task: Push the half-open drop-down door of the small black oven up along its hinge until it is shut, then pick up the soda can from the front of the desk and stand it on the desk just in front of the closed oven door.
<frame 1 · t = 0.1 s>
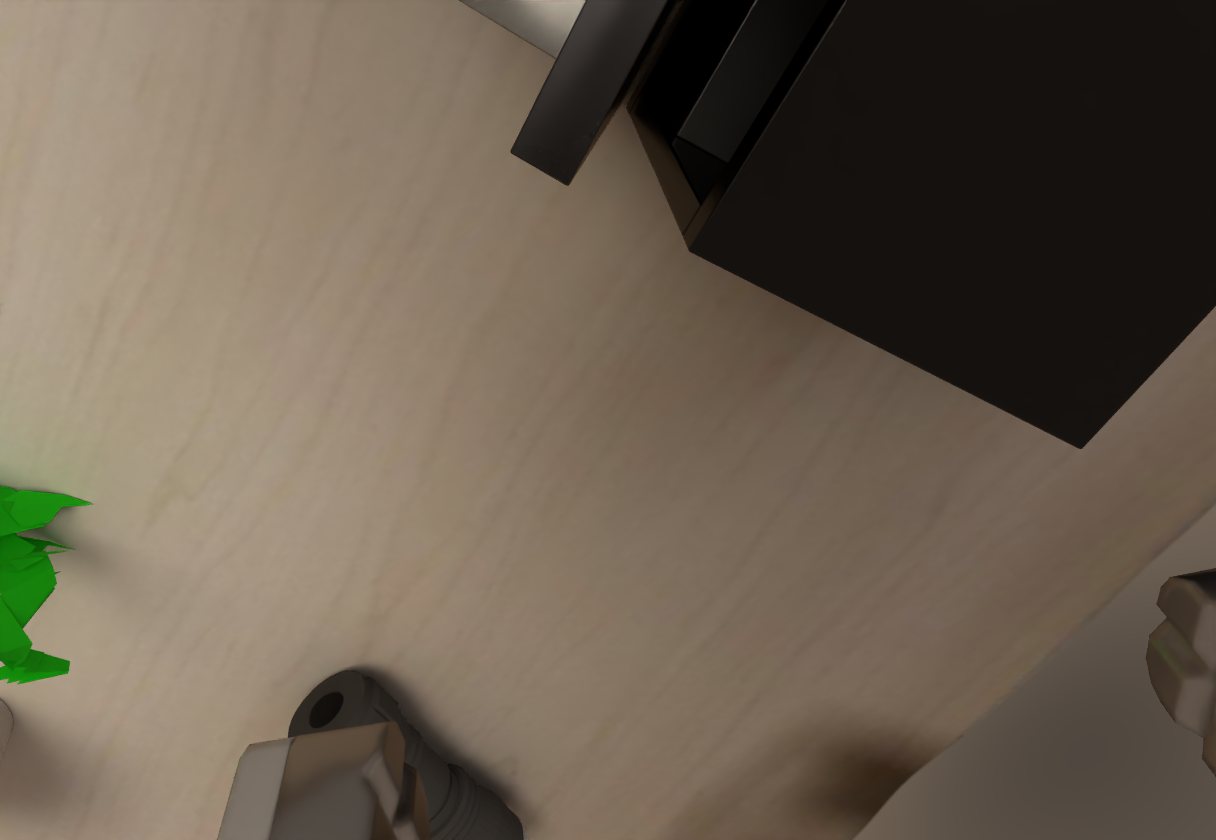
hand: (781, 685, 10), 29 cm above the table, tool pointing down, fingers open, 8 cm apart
figurine: (9, 499, 42), on the table
flashlight: (419, 746, 54), on the table
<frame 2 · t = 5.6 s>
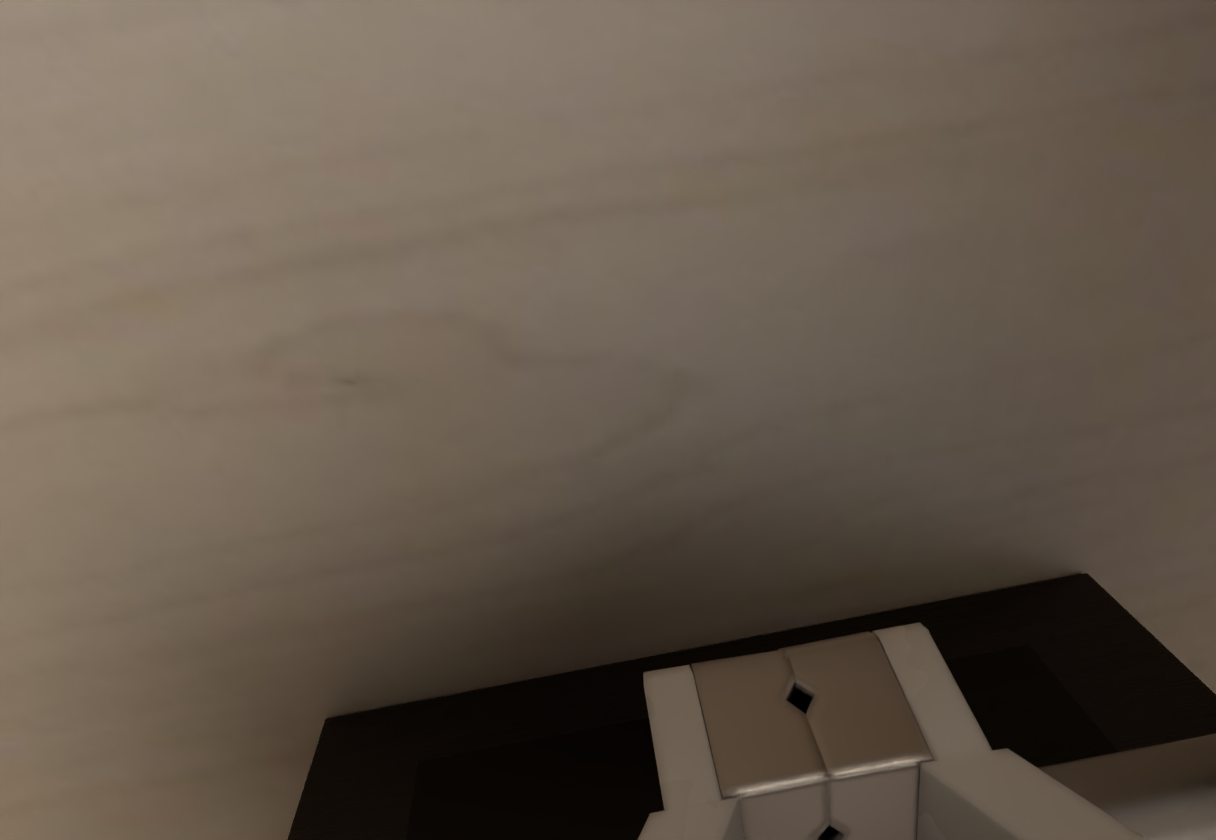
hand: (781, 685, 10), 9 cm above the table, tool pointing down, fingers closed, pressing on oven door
oven door: (762, 796, 15), point 6 cm above the table, hinge at 10.9°, touching gripper
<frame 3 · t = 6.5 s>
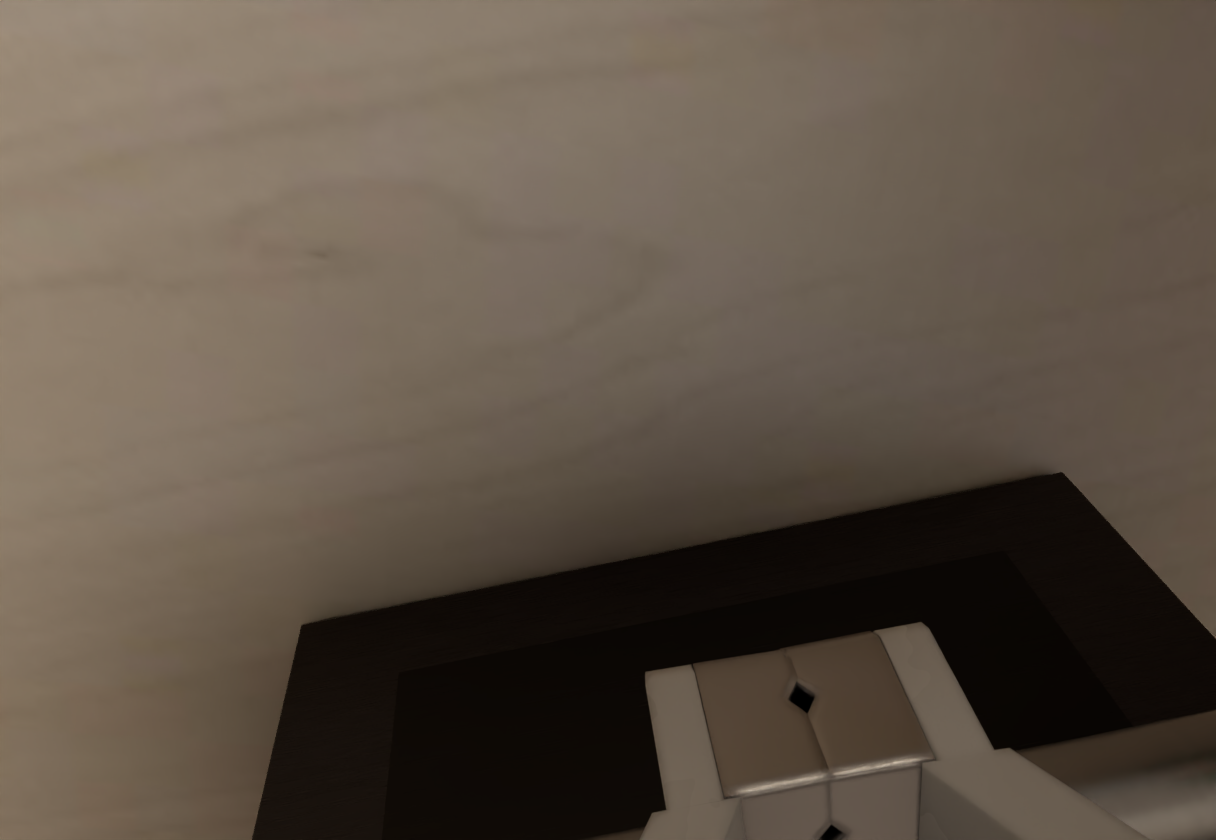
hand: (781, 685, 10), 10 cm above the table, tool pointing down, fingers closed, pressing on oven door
oven door: (746, 726, 15), point 7 cm above the table, hinge at -0.8°, touching gripper
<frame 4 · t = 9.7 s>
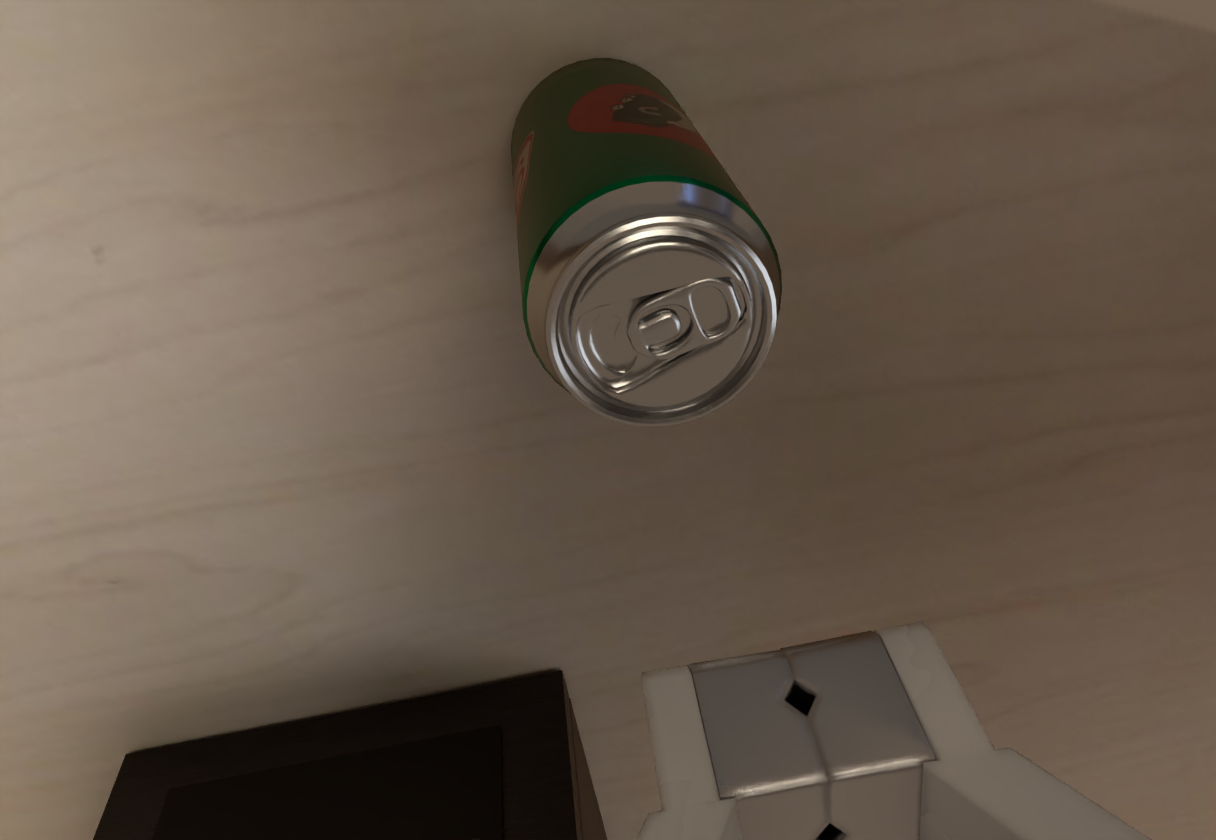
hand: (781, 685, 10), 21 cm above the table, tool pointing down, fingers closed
oven door: (300, 835, 31), point 7 cm above the table, hinge at -0.5°
soda can: (597, 143, 28), on the table
oven: (403, 837, 43), on the table
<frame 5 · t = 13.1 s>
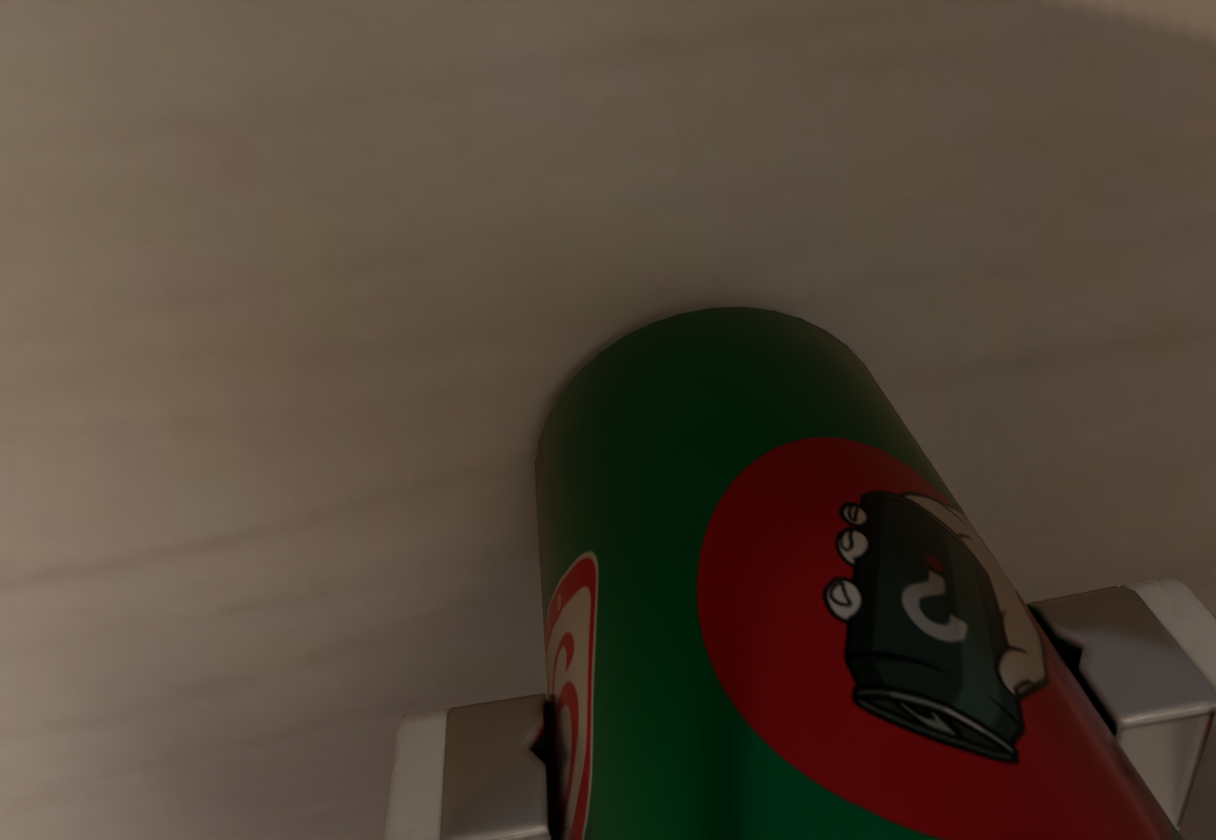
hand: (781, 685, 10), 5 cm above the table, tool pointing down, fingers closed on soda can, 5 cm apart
soda can: (702, 437, 14), on the table, touching gripper
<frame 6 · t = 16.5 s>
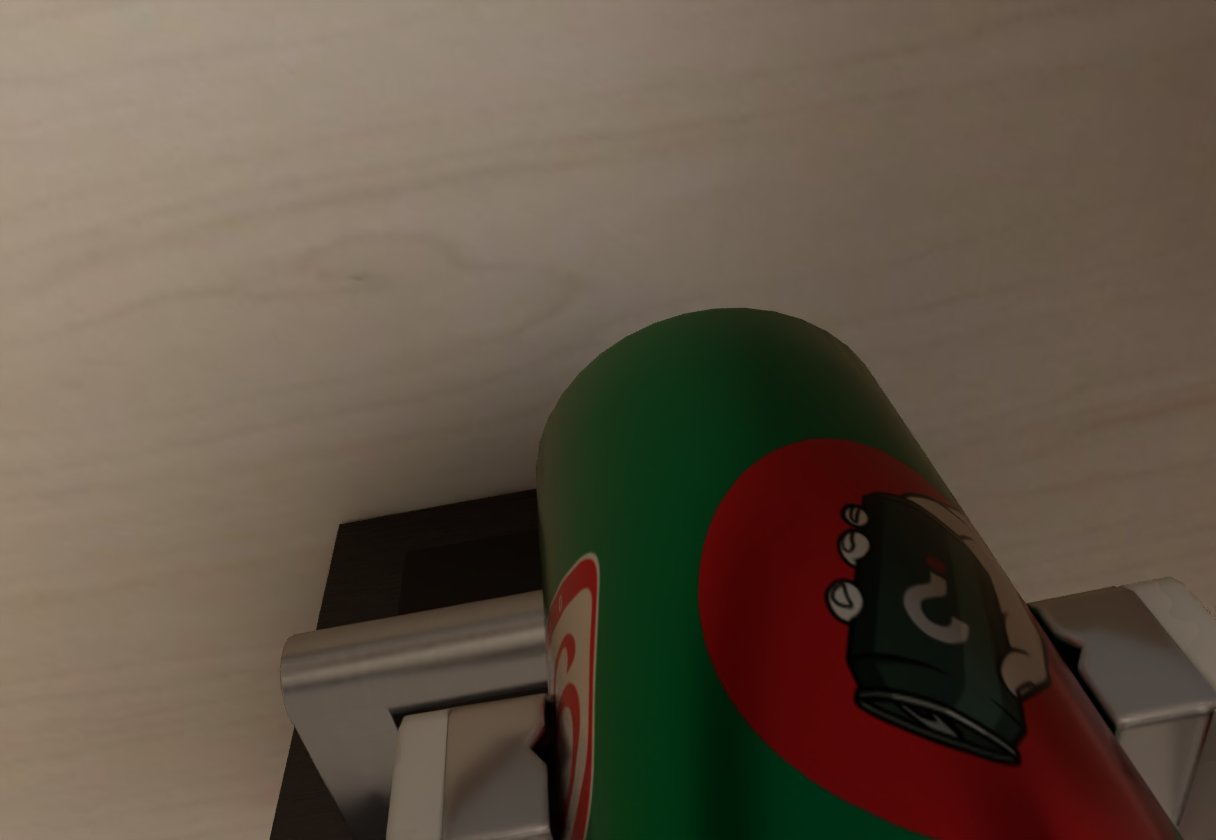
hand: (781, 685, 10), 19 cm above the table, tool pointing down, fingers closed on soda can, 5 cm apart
oven door: (613, 572, 25), point 7 cm above the table, hinge at -0.5°
soda can: (703, 437, 14), point 14 cm above the table, touching gripper
when the fingers open (5 cm above the table, at t = 20.3 s): soda can stays where it is, on the table.
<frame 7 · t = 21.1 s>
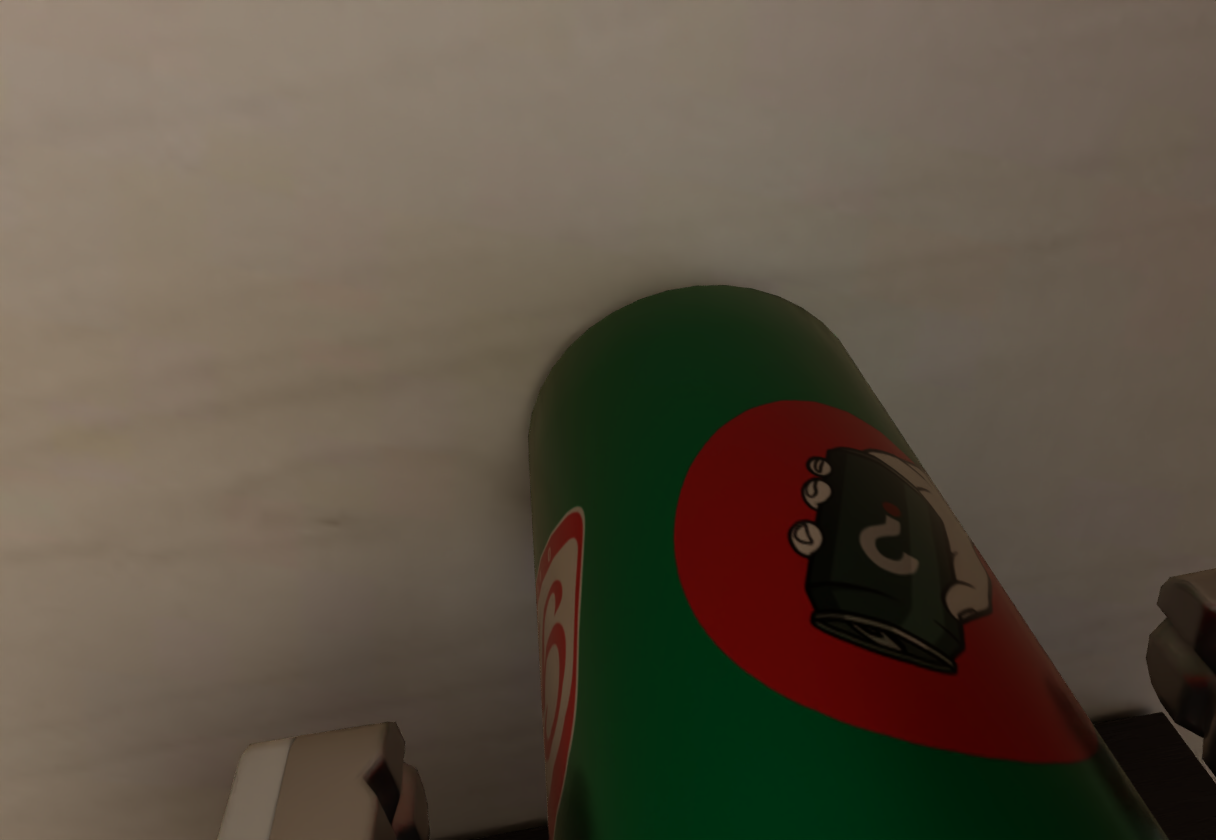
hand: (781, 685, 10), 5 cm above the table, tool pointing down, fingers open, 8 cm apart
soda can: (688, 411, 15), on the table
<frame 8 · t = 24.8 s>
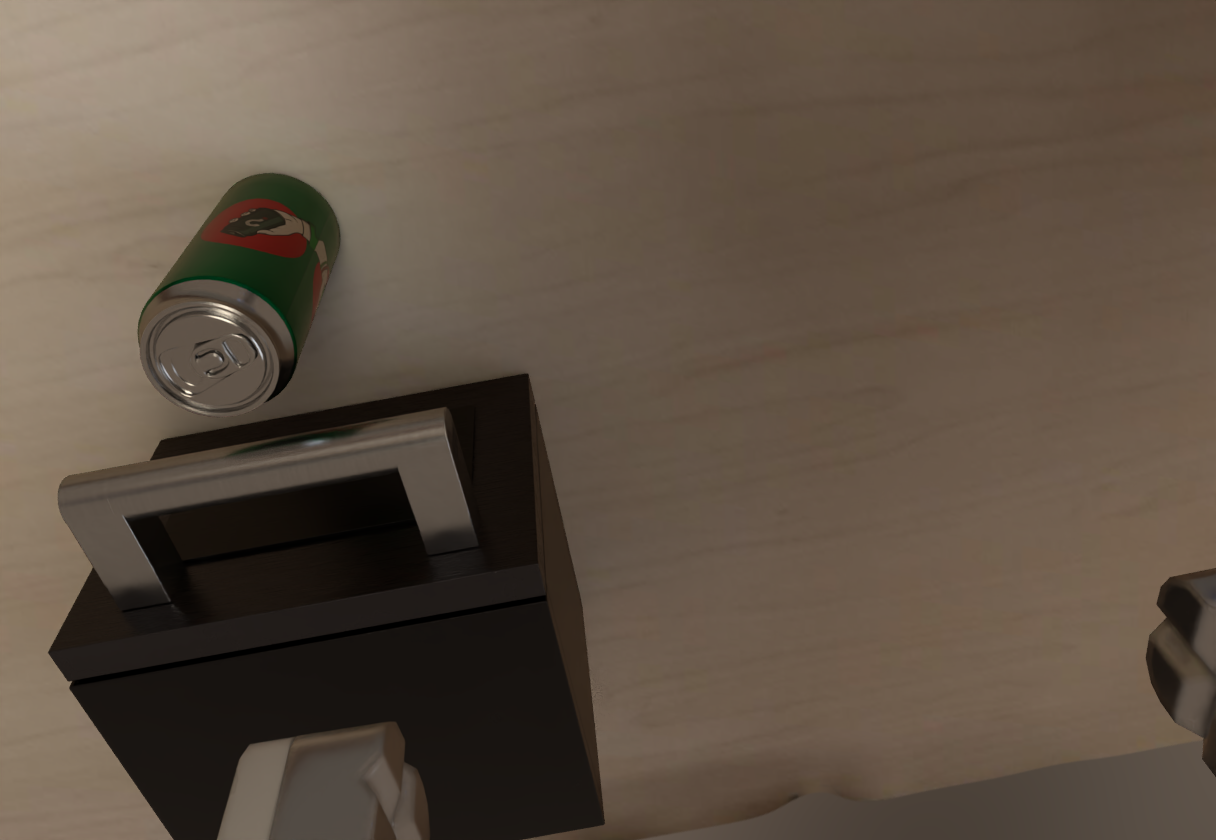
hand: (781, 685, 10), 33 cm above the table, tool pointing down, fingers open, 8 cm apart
oven door: (307, 455, 39), point 7 cm above the table, hinge at -0.5°
soda can: (282, 224, 41), on the table
oven: (394, 542, 50), on the table
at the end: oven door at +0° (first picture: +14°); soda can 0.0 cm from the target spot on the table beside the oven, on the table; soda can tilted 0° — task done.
